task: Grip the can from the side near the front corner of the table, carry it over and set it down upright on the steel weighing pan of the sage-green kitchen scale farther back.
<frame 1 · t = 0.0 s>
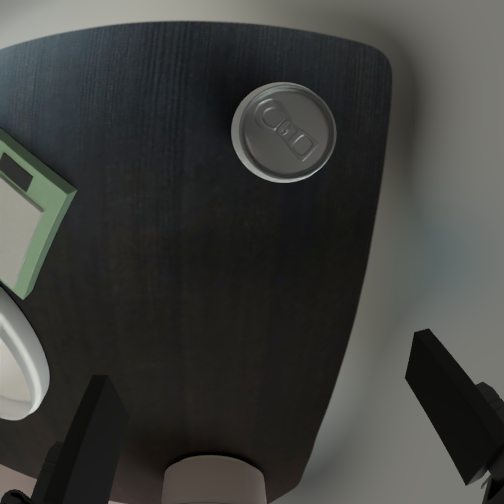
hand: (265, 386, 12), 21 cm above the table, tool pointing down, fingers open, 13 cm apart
kitchen scale: (10, 210, 29), on the table
can: (266, 132, 28), on the table
container: (214, 473, 48), on the table
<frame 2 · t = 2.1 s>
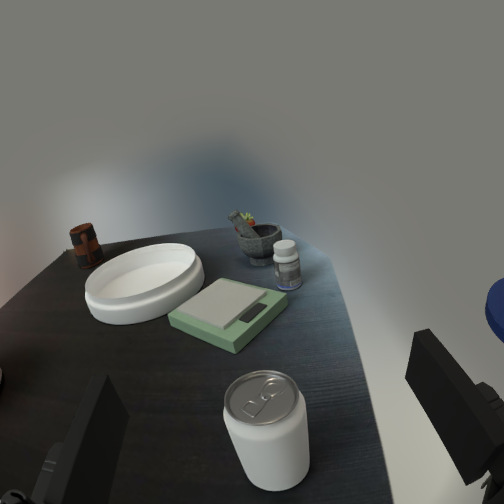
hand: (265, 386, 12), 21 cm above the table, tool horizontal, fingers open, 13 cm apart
mortar and pestle: (260, 260, 73), on the table
kitchen scale: (228, 316, 54), on the table
white round shallow dish: (146, 290, 68), on the table
can: (277, 467, 27), on the table
pill bottle: (289, 285, 61), on the table
fruit: (247, 242, 84), on the table
mug: (93, 265, 88), on the table
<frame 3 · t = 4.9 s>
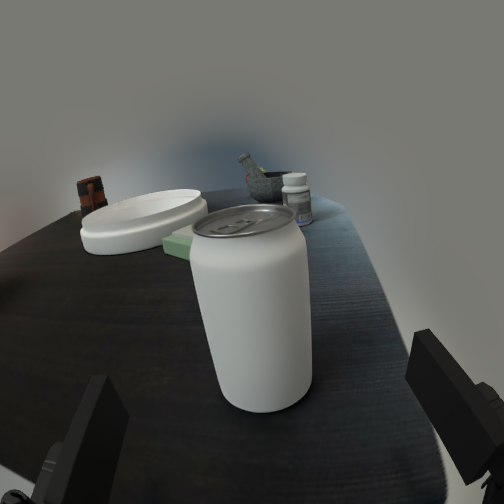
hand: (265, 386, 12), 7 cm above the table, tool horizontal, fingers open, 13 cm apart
mortar and pestle: (269, 208, 68), on the table
kitchen scale: (228, 244, 49), on the table
white round shallow dish: (145, 230, 64), on the table
can: (266, 384, 22), on the table
pill bottle: (298, 223, 55), on the table
mug: (97, 218, 86), on the table
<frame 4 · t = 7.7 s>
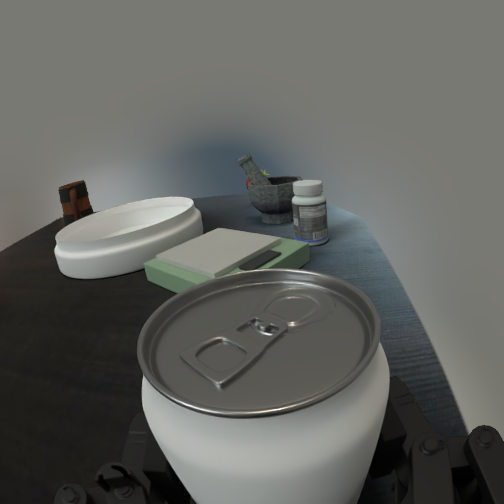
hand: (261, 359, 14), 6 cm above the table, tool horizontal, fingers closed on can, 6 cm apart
mortar and pestle: (275, 219, 58), on the table
kitchen scale: (226, 271, 39), on the table
white round shallow dish: (130, 246, 54), on the table
pill bottle: (311, 241, 45), on the table
mug: (81, 227, 76), on the table
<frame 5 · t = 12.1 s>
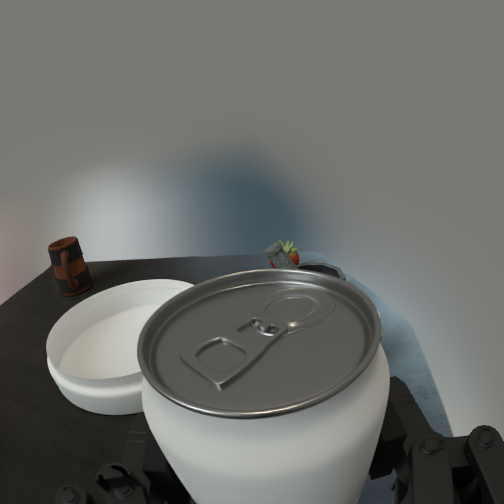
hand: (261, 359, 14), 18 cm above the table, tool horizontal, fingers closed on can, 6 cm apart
mortar and pestle: (307, 318, 48), on the table
white round shallow dish: (135, 350, 44), on the table
fruit: (286, 282, 60), on the table
mug: (77, 291, 66), on the table
when the fingers open (10 cm above the table, at t = 16.7 s): can stays where it is, resting on kitchen scale.
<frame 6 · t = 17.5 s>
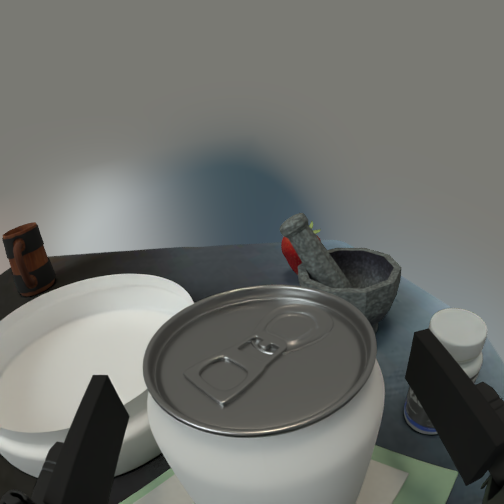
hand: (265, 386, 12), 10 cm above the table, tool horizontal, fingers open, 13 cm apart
mortar and pestle: (341, 329, 32), on the table
white round shallow dish: (89, 376, 28), on the table
pill bottle: (430, 414, 19), on the table
fruit: (303, 278, 43), on the table
mug: (37, 291, 49), on the table
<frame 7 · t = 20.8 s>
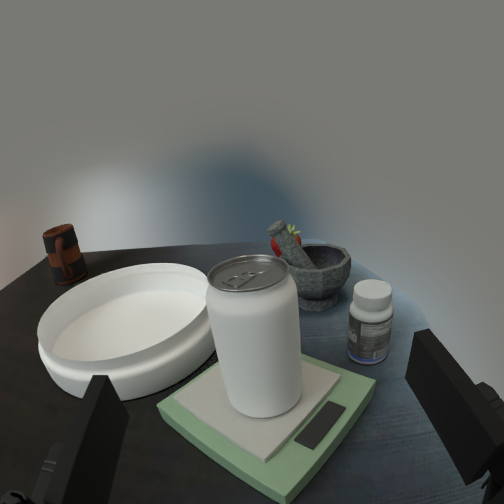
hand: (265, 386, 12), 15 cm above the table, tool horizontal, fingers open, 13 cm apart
mortar and pestle: (311, 301, 46), on the table
kitchen scale: (268, 414, 27), on the table
white round shallow dish: (131, 335, 42), on the table
can: (265, 394, 26), point 3 cm above the table, touching kitchen scale
pill bottle: (367, 353, 34), on the table
fruit: (288, 267, 58), on the table
mug: (72, 280, 64), on the table
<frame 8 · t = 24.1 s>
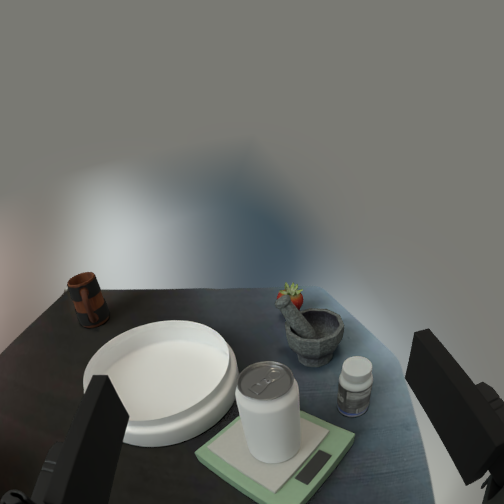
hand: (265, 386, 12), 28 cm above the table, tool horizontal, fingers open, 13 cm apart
mortar and pestle: (311, 356, 54), on the table
kitchen scale: (276, 456, 35), on the table
white round shallow dish: (162, 386, 50), on the table
can: (274, 445, 34), point 3 cm above the table, touching kitchen scale
pill bottle: (352, 406, 41), on the table
fruit: (291, 319, 66), on the table
mug: (96, 323, 72), on the table
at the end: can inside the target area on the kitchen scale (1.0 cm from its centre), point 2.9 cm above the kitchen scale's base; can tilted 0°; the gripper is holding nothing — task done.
